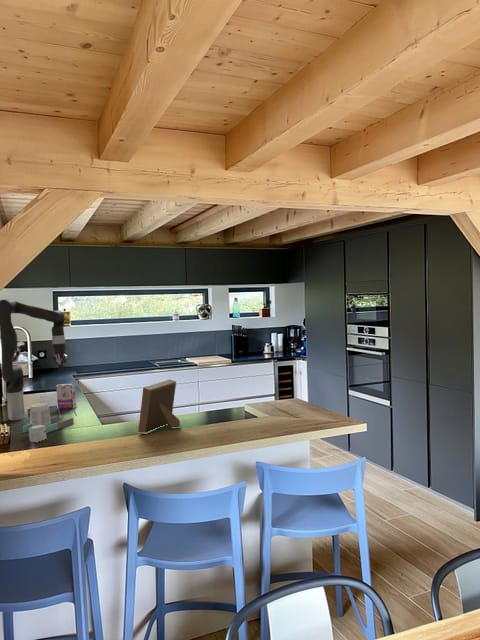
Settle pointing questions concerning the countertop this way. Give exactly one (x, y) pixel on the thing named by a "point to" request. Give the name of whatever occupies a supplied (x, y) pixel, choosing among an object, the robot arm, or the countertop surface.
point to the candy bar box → (66, 396)
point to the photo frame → (158, 406)
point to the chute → (52, 426)
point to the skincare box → (37, 433)
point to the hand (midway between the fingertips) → (61, 370)
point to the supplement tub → (40, 414)
